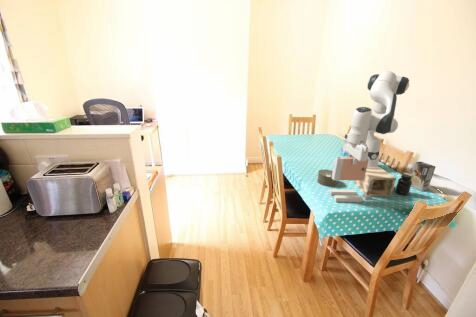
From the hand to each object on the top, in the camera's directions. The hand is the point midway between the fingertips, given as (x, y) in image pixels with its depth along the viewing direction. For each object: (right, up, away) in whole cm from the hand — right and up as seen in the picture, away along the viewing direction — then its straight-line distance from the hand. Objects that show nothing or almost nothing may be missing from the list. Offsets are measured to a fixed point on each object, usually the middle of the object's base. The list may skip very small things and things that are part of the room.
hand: (352, 162), depth 126 cm
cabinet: (+19, -18, +15) cm, 30 cm away
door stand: (0, -20, +8) cm, 22 cm away
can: (-4, -14, +26) cm, 29 cm away
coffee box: (+53, -16, +21) cm, 59 cm away
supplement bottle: (+37, -19, +14) cm, 44 cm away
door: (-1, -10, +3) cm, 10 cm away
